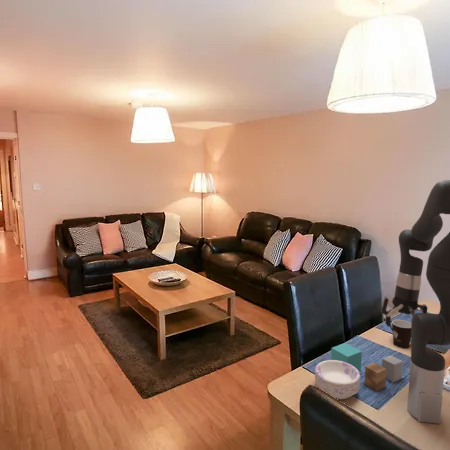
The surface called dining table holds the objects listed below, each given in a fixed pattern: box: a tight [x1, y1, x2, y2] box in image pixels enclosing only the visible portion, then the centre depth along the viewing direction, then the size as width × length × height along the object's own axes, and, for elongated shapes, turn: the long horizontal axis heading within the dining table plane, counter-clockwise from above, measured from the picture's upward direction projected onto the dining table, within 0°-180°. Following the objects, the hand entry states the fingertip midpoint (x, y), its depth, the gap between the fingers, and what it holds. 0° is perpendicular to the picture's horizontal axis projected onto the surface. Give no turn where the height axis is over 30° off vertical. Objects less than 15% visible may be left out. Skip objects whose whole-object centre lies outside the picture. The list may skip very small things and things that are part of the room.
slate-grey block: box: [381, 354, 404, 383], centre depth 128 cm, size 5×5×7 cm
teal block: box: [330, 342, 363, 372], centre depth 134 cm, size 8×8×8 cm
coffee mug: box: [389, 319, 412, 349], centre depth 153 cm, size 12×9×10 cm
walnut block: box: [363, 362, 387, 392], centre depth 123 cm, size 5×5×7 cm
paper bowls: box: [314, 359, 361, 400], centre depth 120 cm, size 15×15×8 cm
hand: (400, 328), depth 123 cm, fingers open, 8 cm apart
